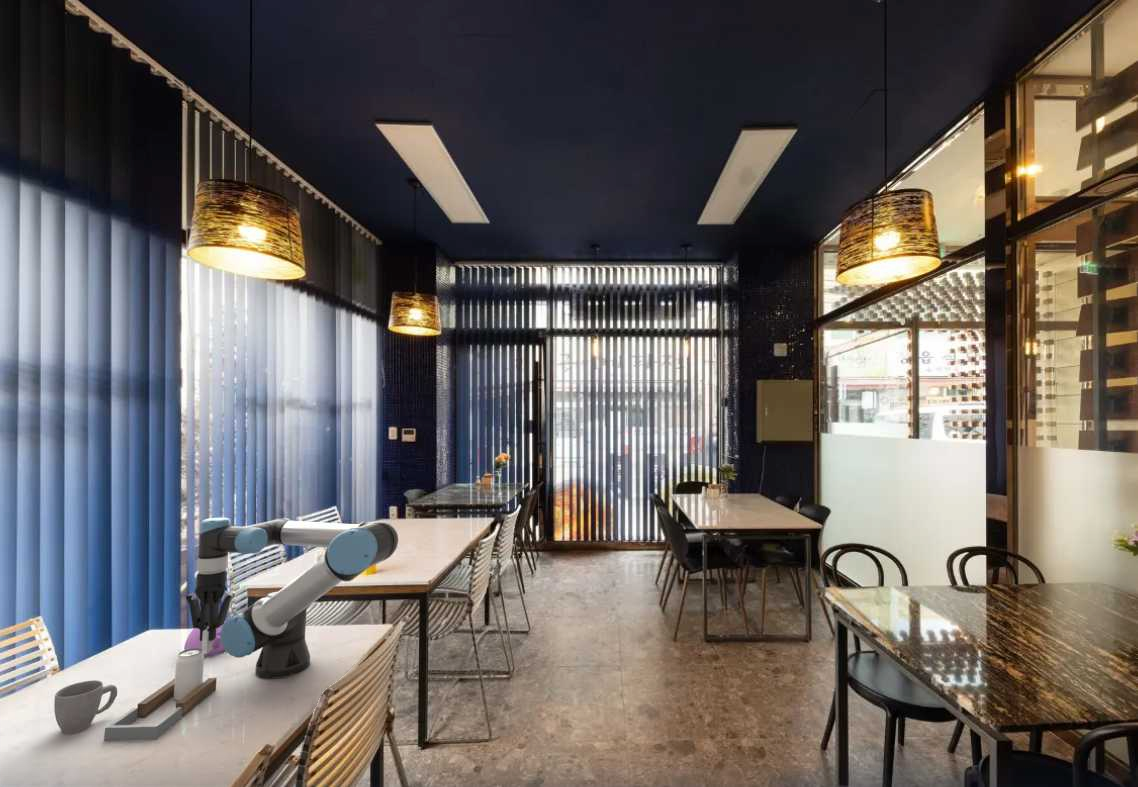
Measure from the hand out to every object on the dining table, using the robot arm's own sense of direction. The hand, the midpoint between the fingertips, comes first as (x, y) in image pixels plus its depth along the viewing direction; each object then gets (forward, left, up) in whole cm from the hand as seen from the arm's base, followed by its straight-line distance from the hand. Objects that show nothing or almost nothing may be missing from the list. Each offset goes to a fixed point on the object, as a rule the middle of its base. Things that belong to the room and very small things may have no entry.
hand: (206, 651), depth 155 cm
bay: (0, +25, -9) cm, 26 cm away
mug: (+16, +22, -9) cm, 29 cm away
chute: (0, +12, -9) cm, 15 cm away
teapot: (+12, -23, -9) cm, 28 cm away
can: (0, +8, -9) cm, 12 cm away
